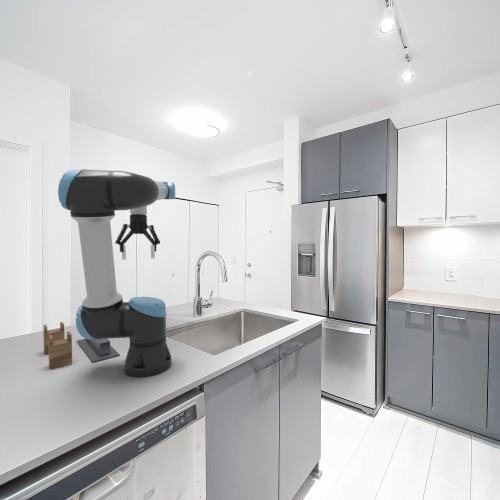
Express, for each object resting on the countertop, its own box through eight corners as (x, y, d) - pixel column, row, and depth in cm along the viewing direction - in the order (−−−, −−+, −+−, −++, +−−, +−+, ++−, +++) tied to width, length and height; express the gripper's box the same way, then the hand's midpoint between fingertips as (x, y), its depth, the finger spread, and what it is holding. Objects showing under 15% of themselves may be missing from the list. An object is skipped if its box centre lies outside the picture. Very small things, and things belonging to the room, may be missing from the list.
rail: (110, 354, 100) (110, 341, 100) (99, 357, 98) (99, 343, 98) (94, 338, 118) (94, 326, 118) (85, 339, 116) (85, 328, 116)
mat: (119, 355, 101) (119, 354, 101) (92, 363, 95) (92, 361, 95) (100, 336, 121) (100, 335, 121) (76, 341, 115) (76, 340, 115)
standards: (72, 363, 94) (71, 334, 94) (50, 369, 90) (49, 338, 89) (63, 347, 109) (62, 321, 108) (43, 351, 104) (43, 325, 104)
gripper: (160, 216, 139) (160, 257, 140) (107, 213, 122) (108, 259, 123) (166, 215, 133) (167, 258, 134) (112, 211, 117) (113, 260, 117)
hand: (138, 259), depth 128 cm, fingers open, 13 cm apart
